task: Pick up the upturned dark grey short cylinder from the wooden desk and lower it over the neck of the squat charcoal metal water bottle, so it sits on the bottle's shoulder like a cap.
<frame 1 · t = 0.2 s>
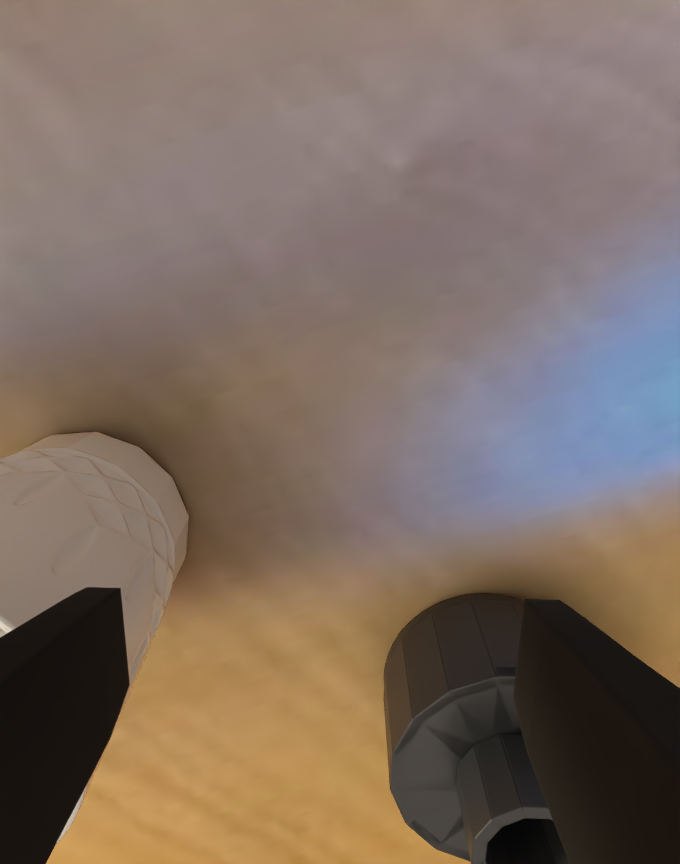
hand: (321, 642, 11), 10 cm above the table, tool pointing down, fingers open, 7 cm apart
white cup: (98, 518, 21), on the table
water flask: (478, 676, 23), on the table
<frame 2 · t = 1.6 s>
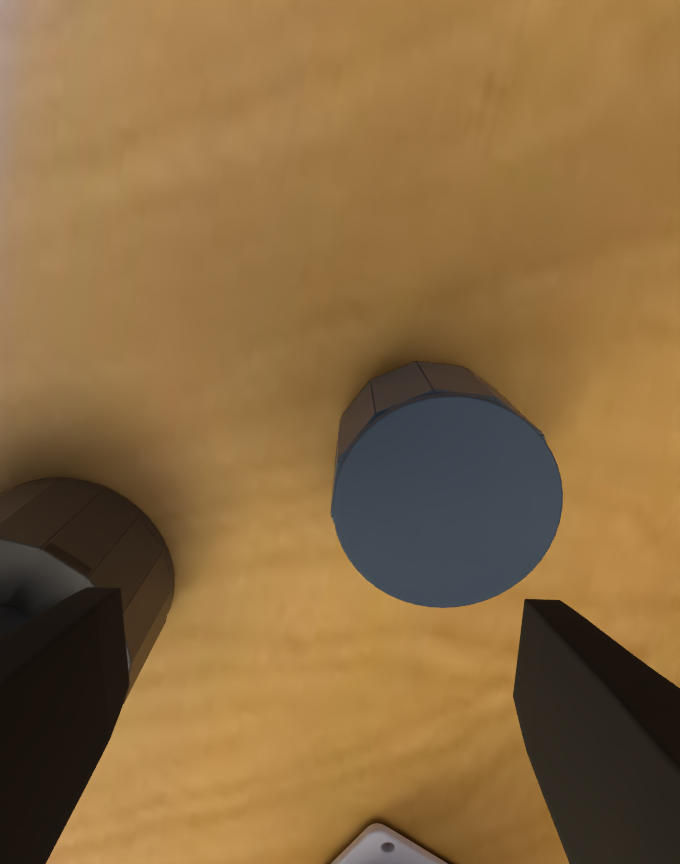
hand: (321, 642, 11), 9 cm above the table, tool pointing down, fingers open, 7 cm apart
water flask: (72, 573, 21), on the table
dark grey short cylinder: (425, 451, 20), on the table
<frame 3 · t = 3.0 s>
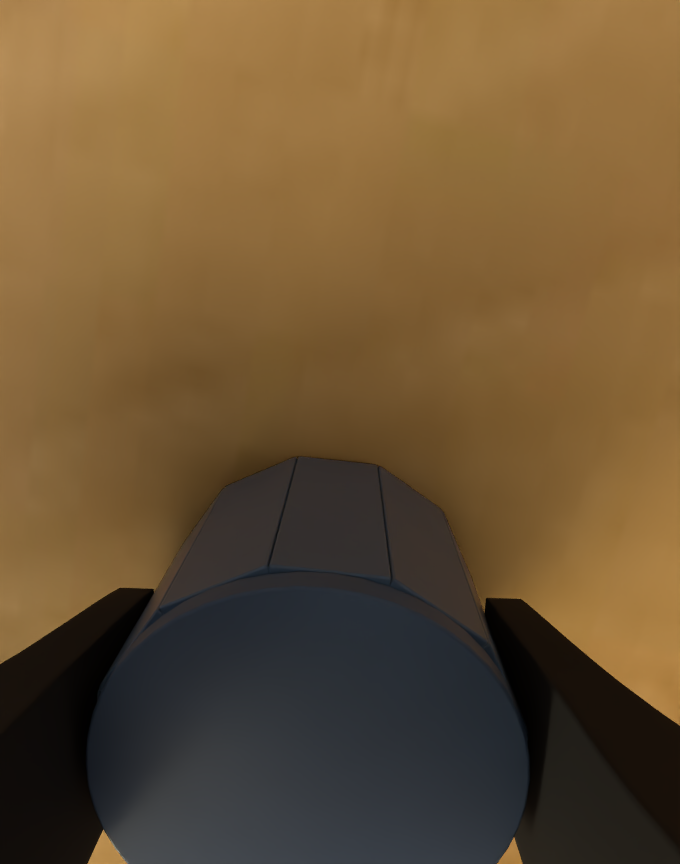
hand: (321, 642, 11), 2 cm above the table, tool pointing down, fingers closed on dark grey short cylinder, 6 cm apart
dark grey short cylinder: (322, 593, 12), on the table, touching gripper
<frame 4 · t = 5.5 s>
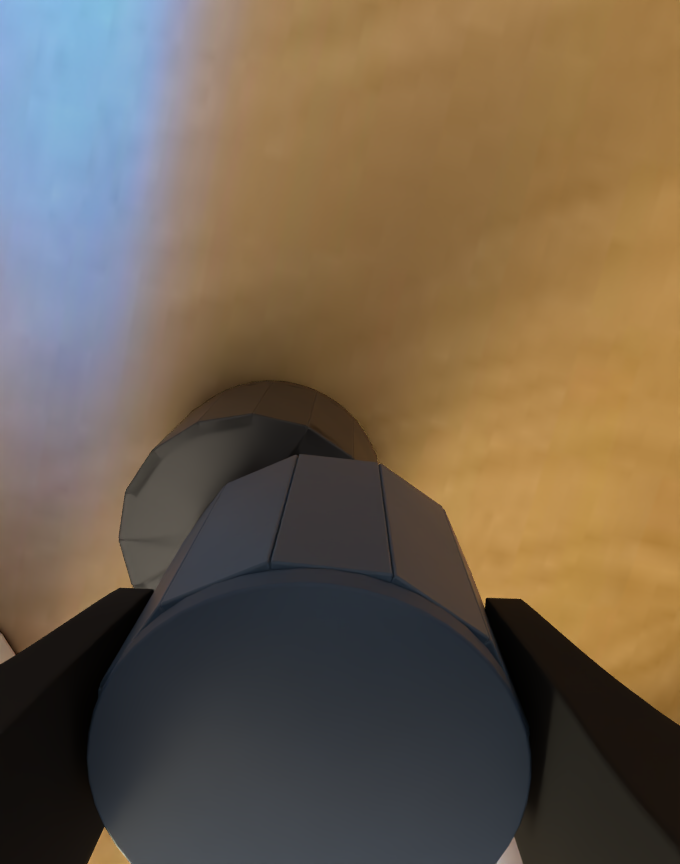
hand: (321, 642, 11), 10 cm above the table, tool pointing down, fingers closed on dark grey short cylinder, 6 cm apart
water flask: (274, 484, 20), on the table
dark grey short cylinder: (323, 591, 12), point 8 cm above the table, touching gripper
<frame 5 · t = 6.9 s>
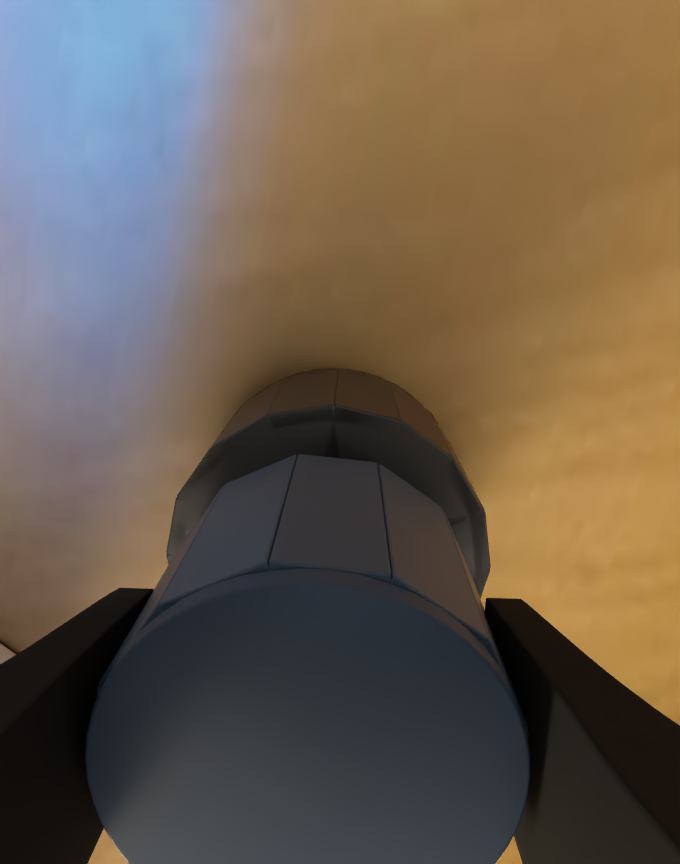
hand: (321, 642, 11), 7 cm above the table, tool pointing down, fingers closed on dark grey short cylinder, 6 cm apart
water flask: (333, 488, 18), on the table
dark grey short cylinder: (322, 591, 12), point 6 cm above the table, touching gripper
when the fingers open (6 cm above the table, at t = 8.0 s): dark grey short cylinder stays where it is, resting on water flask.
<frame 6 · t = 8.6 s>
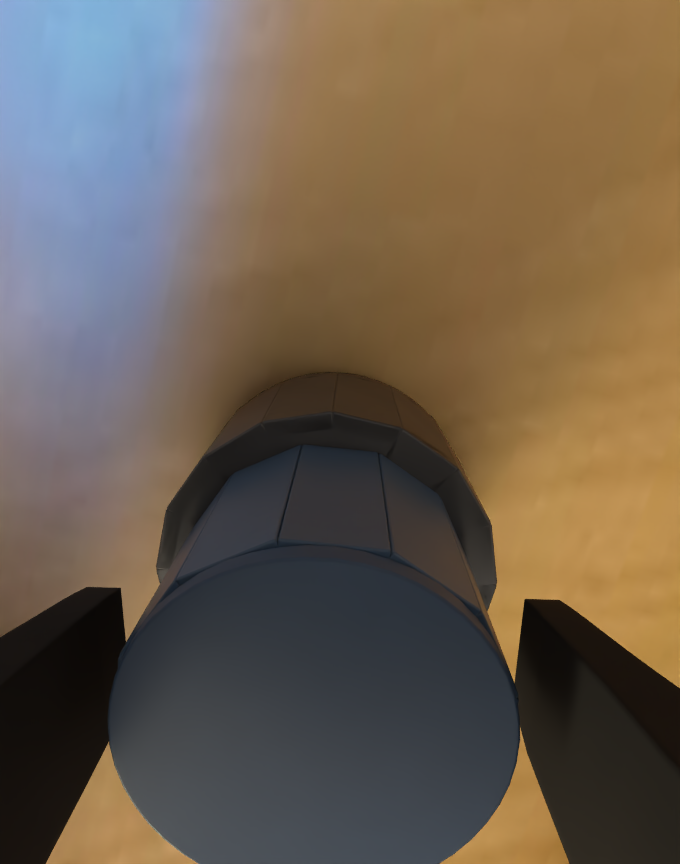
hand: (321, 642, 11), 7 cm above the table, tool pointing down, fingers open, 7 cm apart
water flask: (332, 496, 17), on the table, touching dark grey short cylinder
dark grey short cylinder: (326, 575, 13), point 4 cm above the table, touching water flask
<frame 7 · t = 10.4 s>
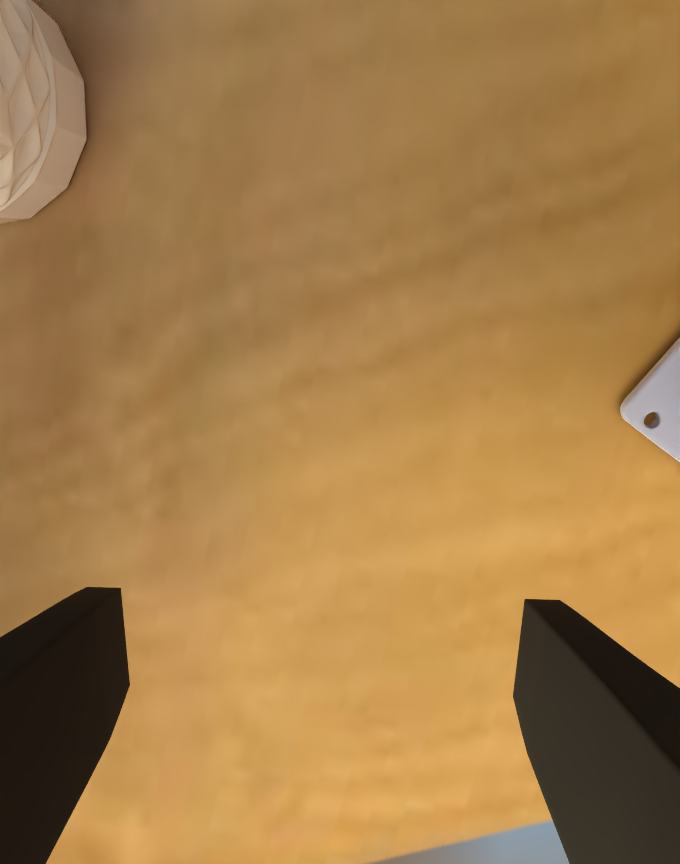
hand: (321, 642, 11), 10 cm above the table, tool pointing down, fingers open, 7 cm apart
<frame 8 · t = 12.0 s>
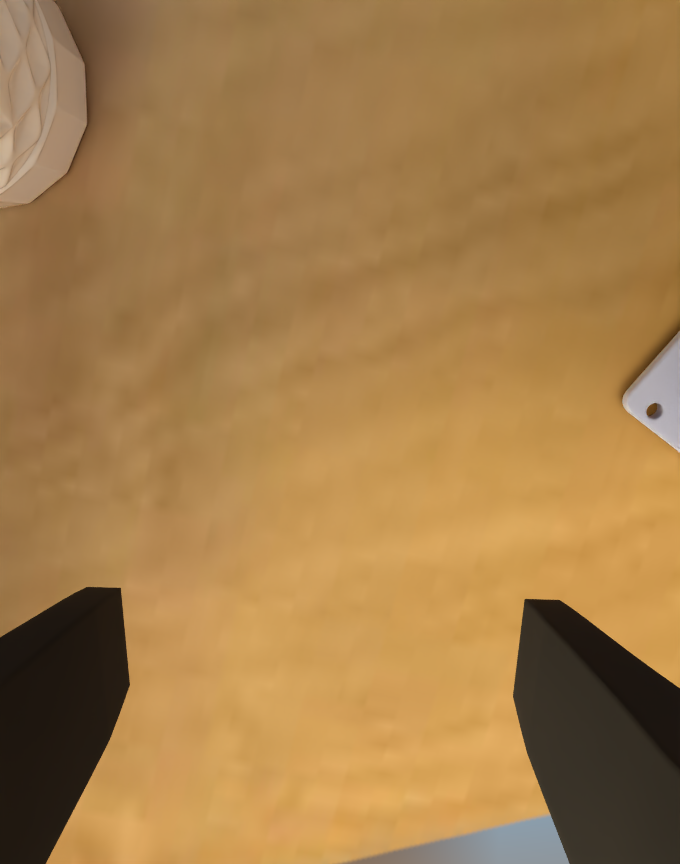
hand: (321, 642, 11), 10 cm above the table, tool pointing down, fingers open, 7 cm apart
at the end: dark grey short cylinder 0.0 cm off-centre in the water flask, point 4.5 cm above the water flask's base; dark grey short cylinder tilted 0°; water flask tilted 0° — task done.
